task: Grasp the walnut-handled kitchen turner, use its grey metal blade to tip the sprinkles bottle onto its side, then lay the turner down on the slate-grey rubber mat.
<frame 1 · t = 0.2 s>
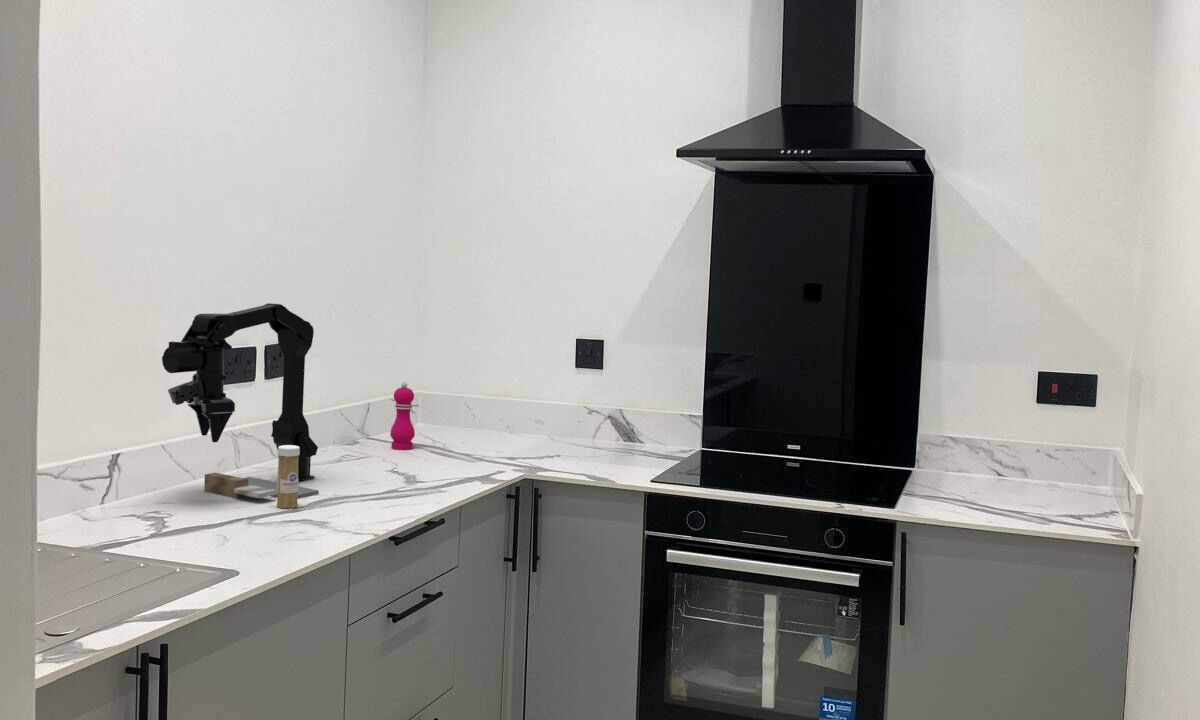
hand: (209, 438, 223), 13 cm above the worktop, tool pointing down, fingers open, 9 cm apart
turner: (242, 497, 225), on the worktop
pepper mill: (401, 448, 297), on the worktop
sprinkles bottle: (287, 507, 218), on the worktop
tool mat: (268, 489, 234), on the worktop
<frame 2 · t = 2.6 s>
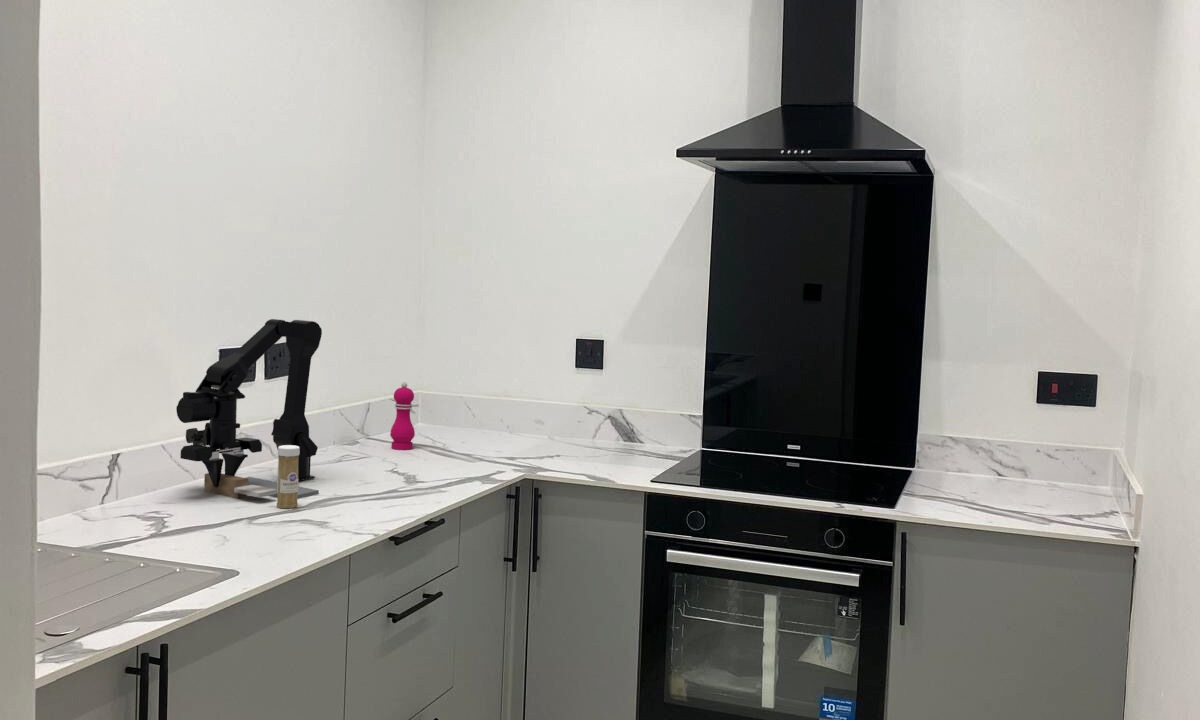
hand: (221, 485, 228), 2 cm above the worktop, tool pointing down, fingers closed on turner, 3 cm apart
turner: (242, 496, 225), on the worktop, touching gripper
everything else where it was.
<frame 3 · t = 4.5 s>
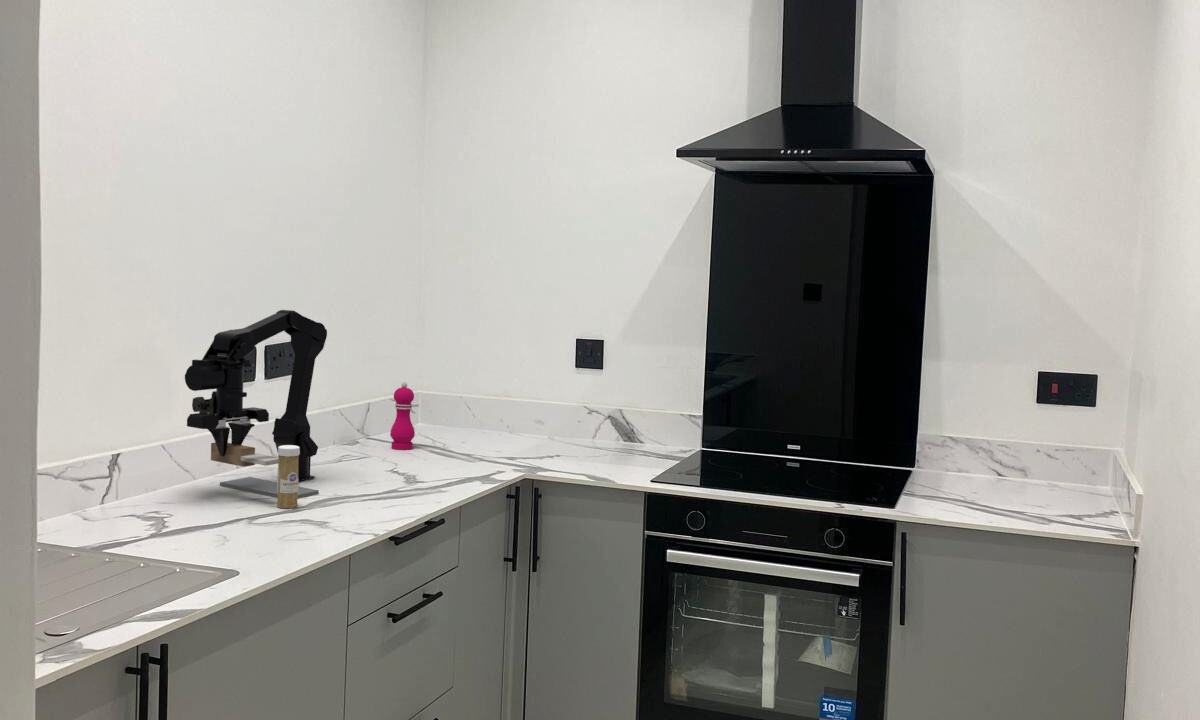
hand: (228, 455, 227), 9 cm above the worktop, tool pointing down, fingers closed on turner, 3 cm apart
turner: (249, 465, 223), point 7 cm above the worktop, touching gripper
everything else where it was.
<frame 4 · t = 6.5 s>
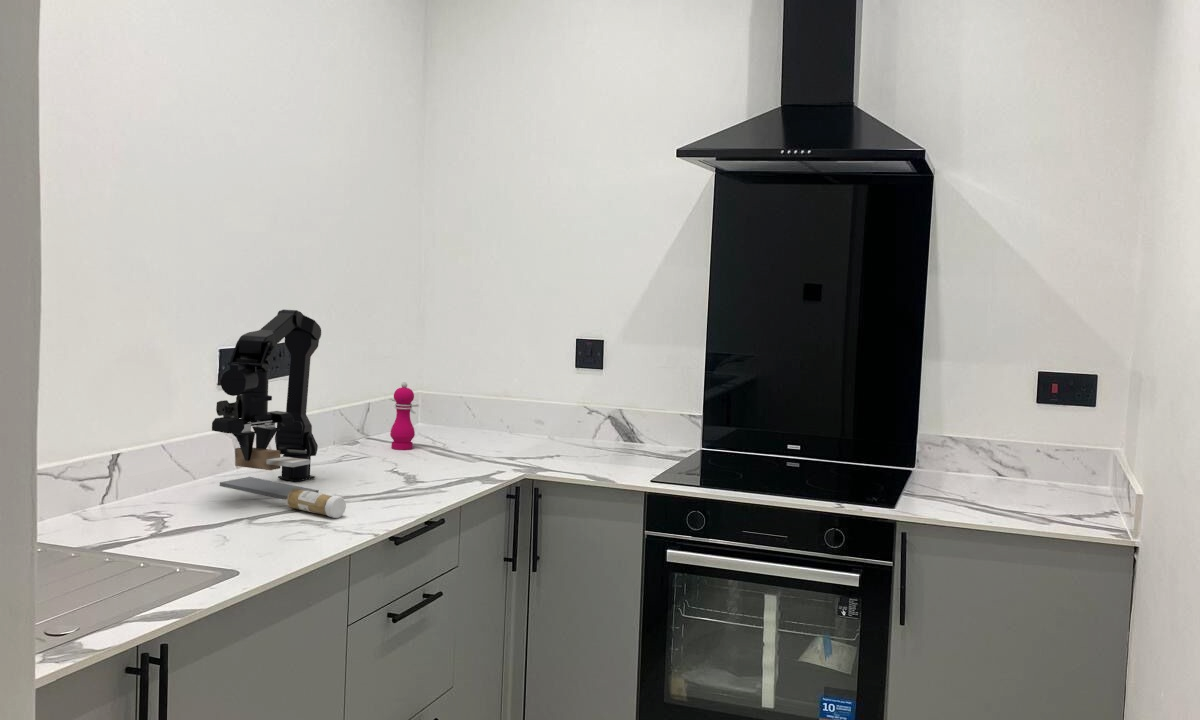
hand: (253, 459, 223), 9 cm above the worktop, tool pointing down, fingers closed on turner, 3 cm apart
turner: (275, 469, 220), point 8 cm above the worktop, touching gripper
sprinkles bottle: (293, 497, 217), point 2 cm above the worktop
everything else where it was.
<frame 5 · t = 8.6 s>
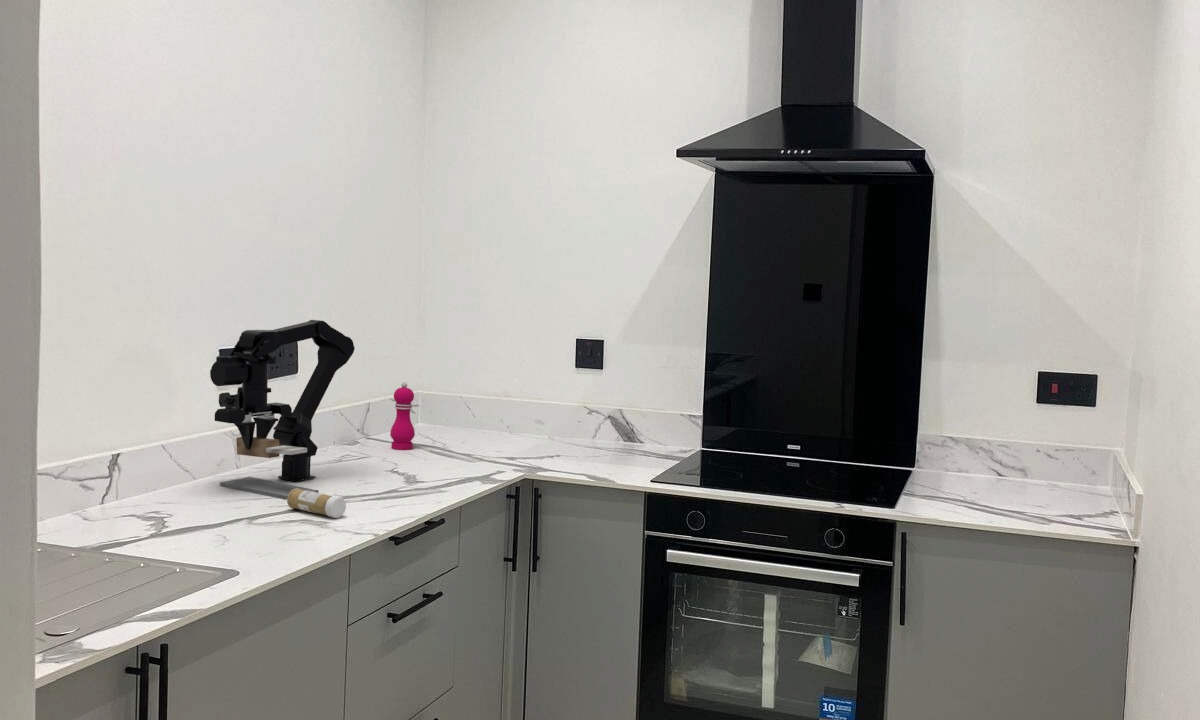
hand: (253, 448, 236), 9 cm above the worktop, tool pointing down, fingers closed on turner, 3 cm apart
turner: (274, 457, 232), point 8 cm above the worktop, touching gripper
everything else where it was.
when the fingers open (3 cm above the worktop, at t = 10.2 s): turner drops 1 cm, resting on tool mat.
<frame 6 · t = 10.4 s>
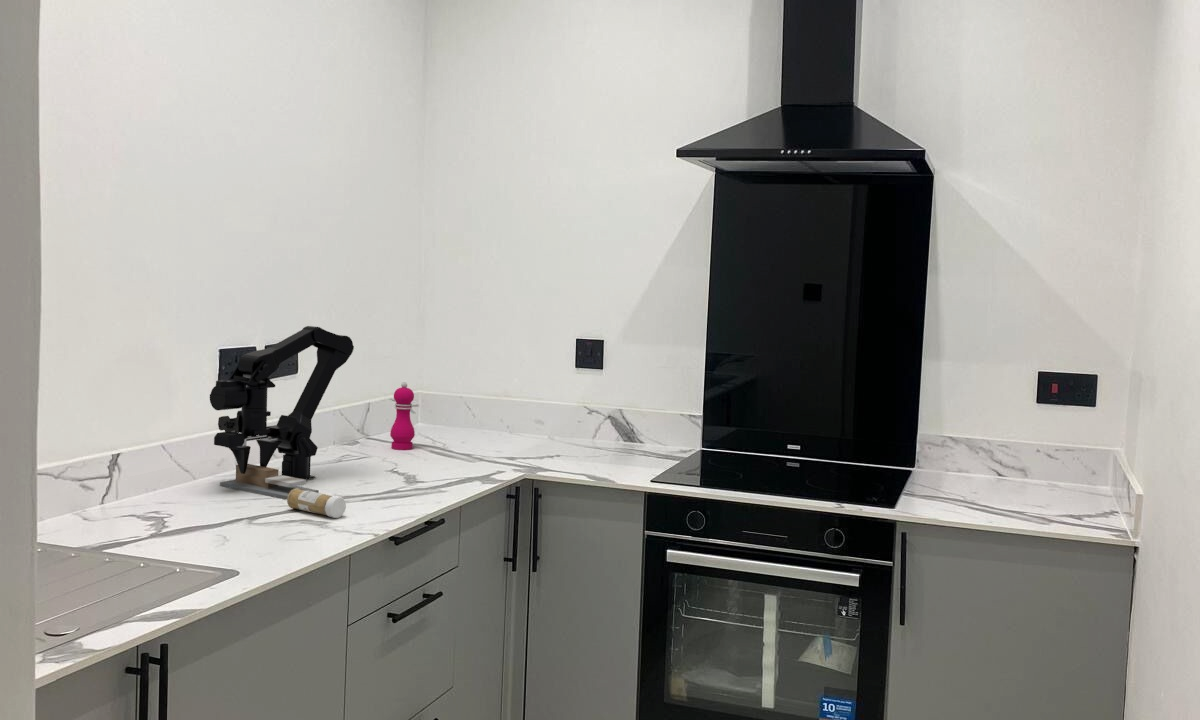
hand: (252, 471, 236), 3 cm above the worktop, tool pointing down, fingers open, 6 cm apart
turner: (273, 487, 233), point 1 cm above the worktop, touching tool mat
everything else where it was.
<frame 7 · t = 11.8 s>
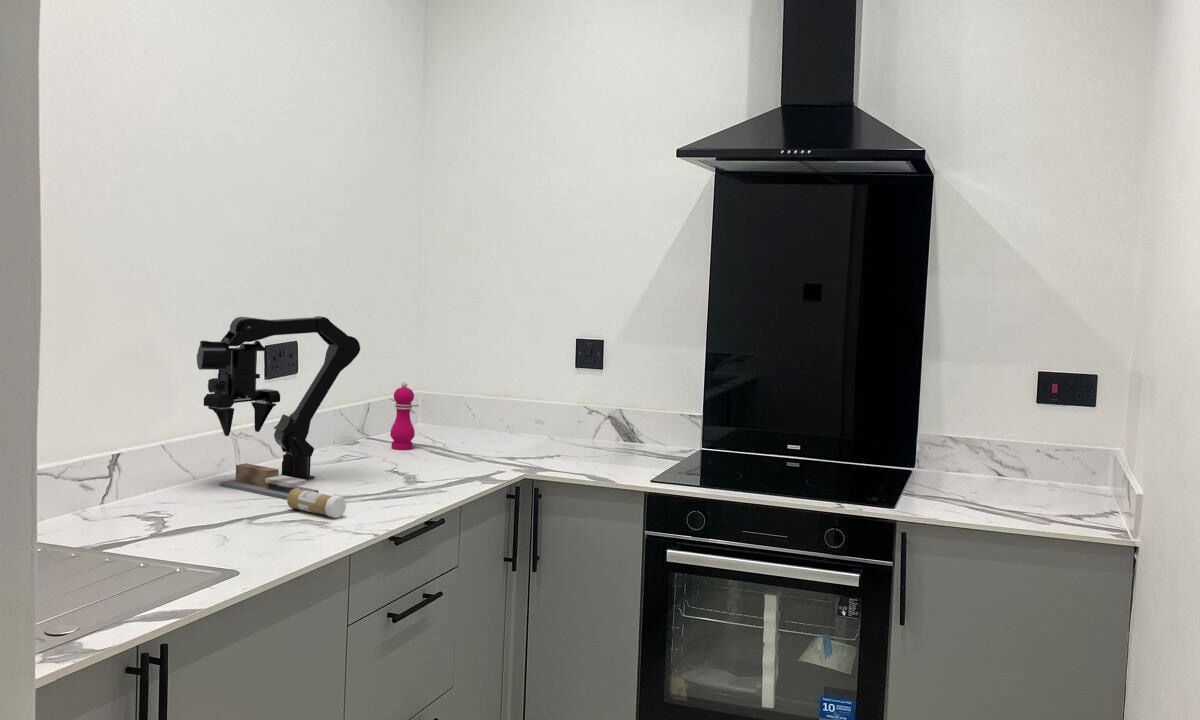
hand: (242, 433, 238), 12 cm above the worktop, tool pointing down, fingers open, 9 cm apart
nothing on the worktop moved.
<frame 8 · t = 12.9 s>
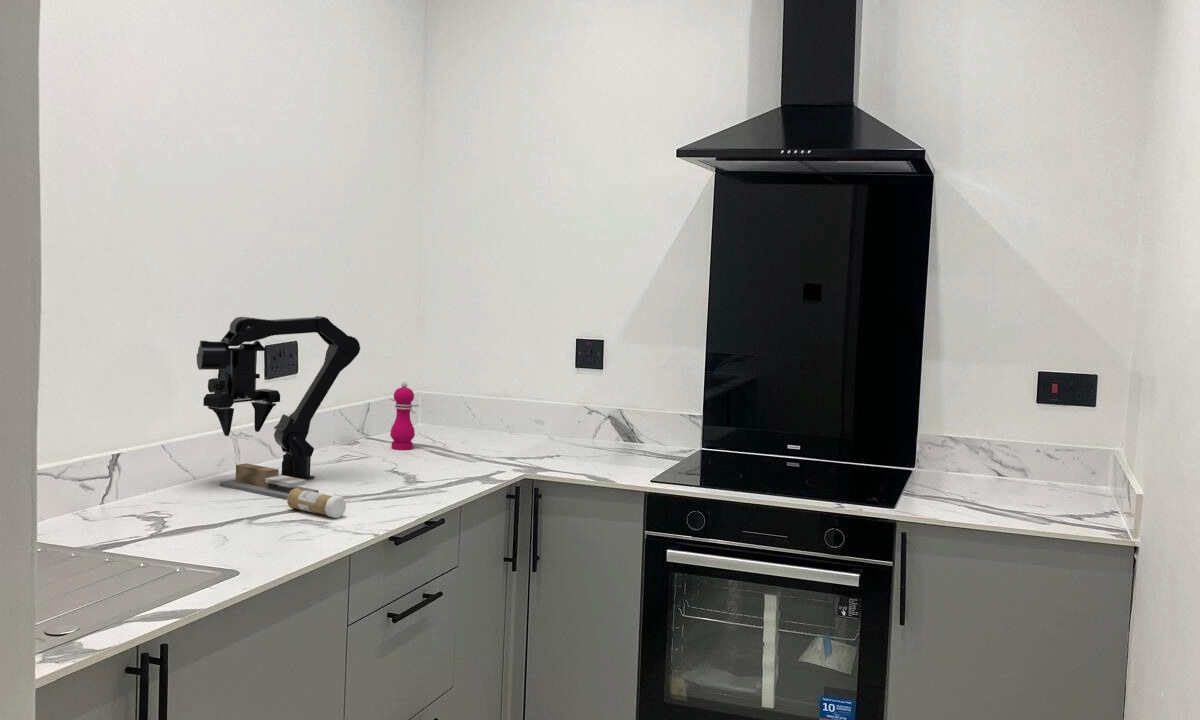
hand: (242, 433, 238), 12 cm above the worktop, tool pointing down, fingers open, 9 cm apart
nothing on the worktop moved.
at the end: sprinkles bottle tilted 90°; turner inside the target area (0.1 cm from its centre), point 0.8 cm above the worktop; the gripper is holding nothing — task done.
